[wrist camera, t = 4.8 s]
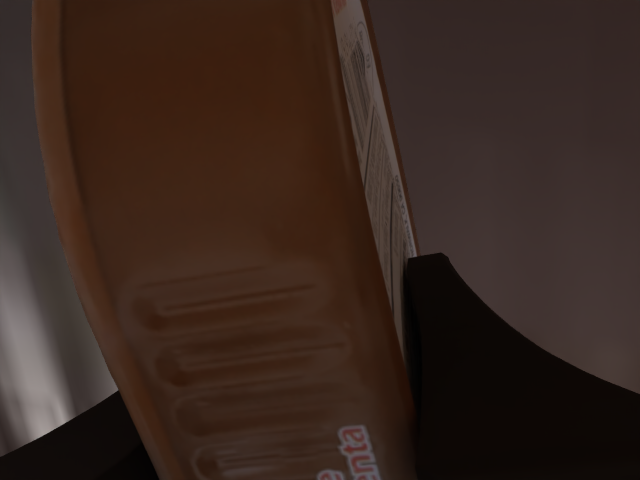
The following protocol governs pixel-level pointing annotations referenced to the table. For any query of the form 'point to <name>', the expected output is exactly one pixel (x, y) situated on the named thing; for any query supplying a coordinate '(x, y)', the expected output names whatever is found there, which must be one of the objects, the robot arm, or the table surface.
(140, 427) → the tin
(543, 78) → the table surface
